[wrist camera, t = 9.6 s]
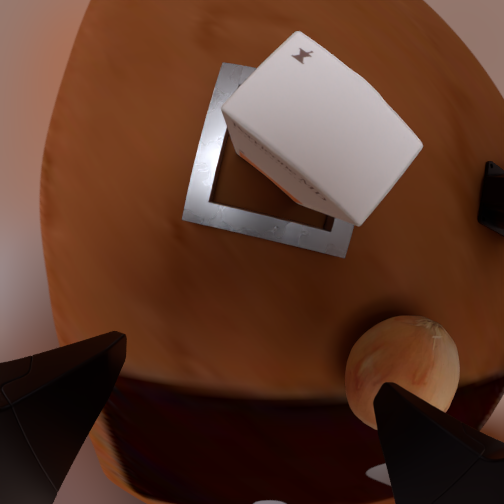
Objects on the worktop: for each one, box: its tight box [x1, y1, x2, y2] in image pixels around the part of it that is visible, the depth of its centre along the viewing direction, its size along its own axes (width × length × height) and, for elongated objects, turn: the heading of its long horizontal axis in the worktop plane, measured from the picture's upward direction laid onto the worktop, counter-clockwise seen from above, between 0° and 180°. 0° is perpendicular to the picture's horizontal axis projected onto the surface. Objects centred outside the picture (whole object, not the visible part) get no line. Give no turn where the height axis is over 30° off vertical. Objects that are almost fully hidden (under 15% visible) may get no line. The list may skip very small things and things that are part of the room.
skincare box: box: [221, 31, 423, 226], centre depth 14 cm, size 6×4×12 cm
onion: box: [345, 315, 460, 430], centre depth 18 cm, size 10×10×10 cm
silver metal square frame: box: [182, 63, 354, 258], centre depth 18 cm, size 11×11×2 cm
